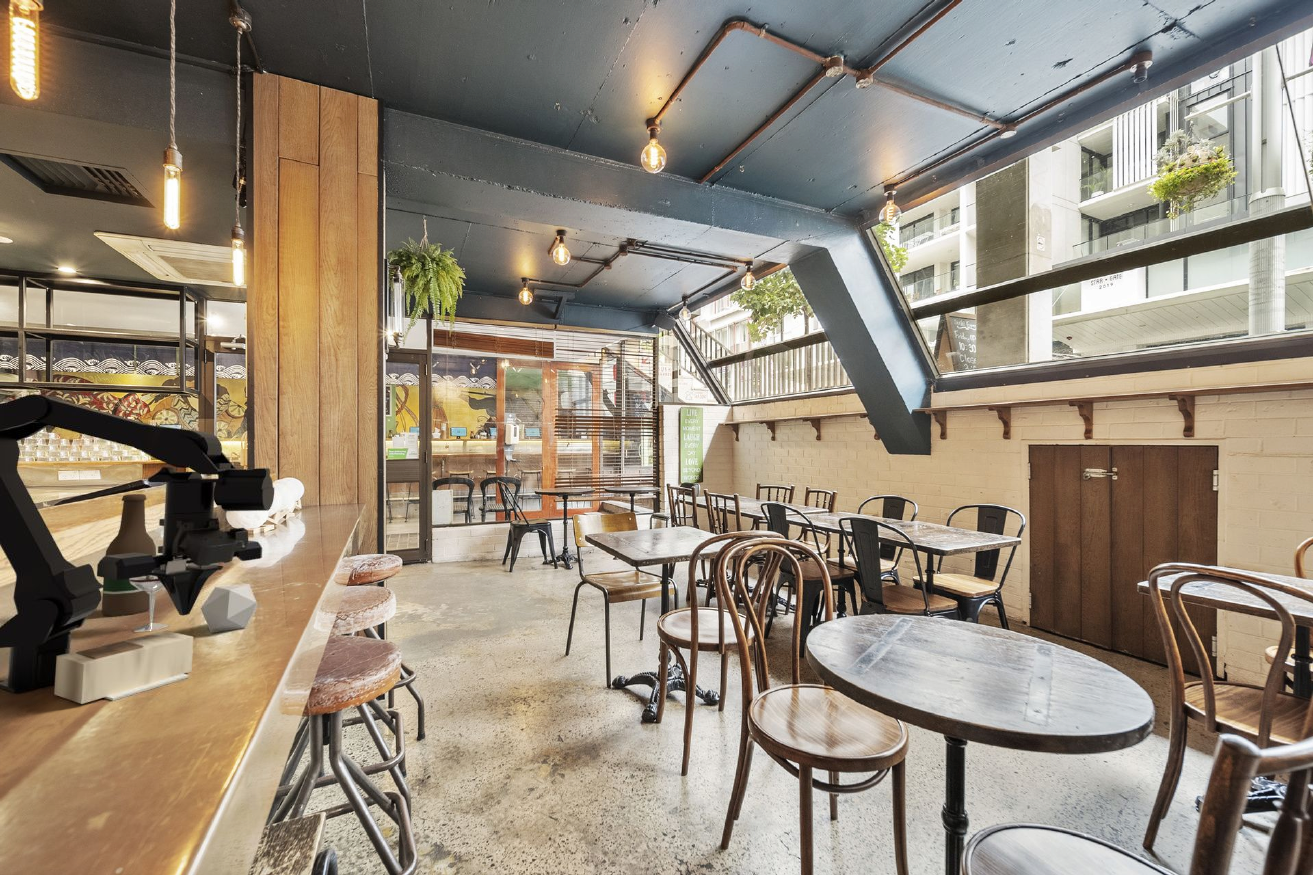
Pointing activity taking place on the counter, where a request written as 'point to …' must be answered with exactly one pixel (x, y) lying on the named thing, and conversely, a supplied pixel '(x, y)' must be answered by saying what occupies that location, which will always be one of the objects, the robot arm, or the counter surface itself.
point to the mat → (146, 687)
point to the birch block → (122, 666)
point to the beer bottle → (129, 540)
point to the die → (229, 607)
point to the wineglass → (152, 587)
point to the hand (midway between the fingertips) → (184, 614)
